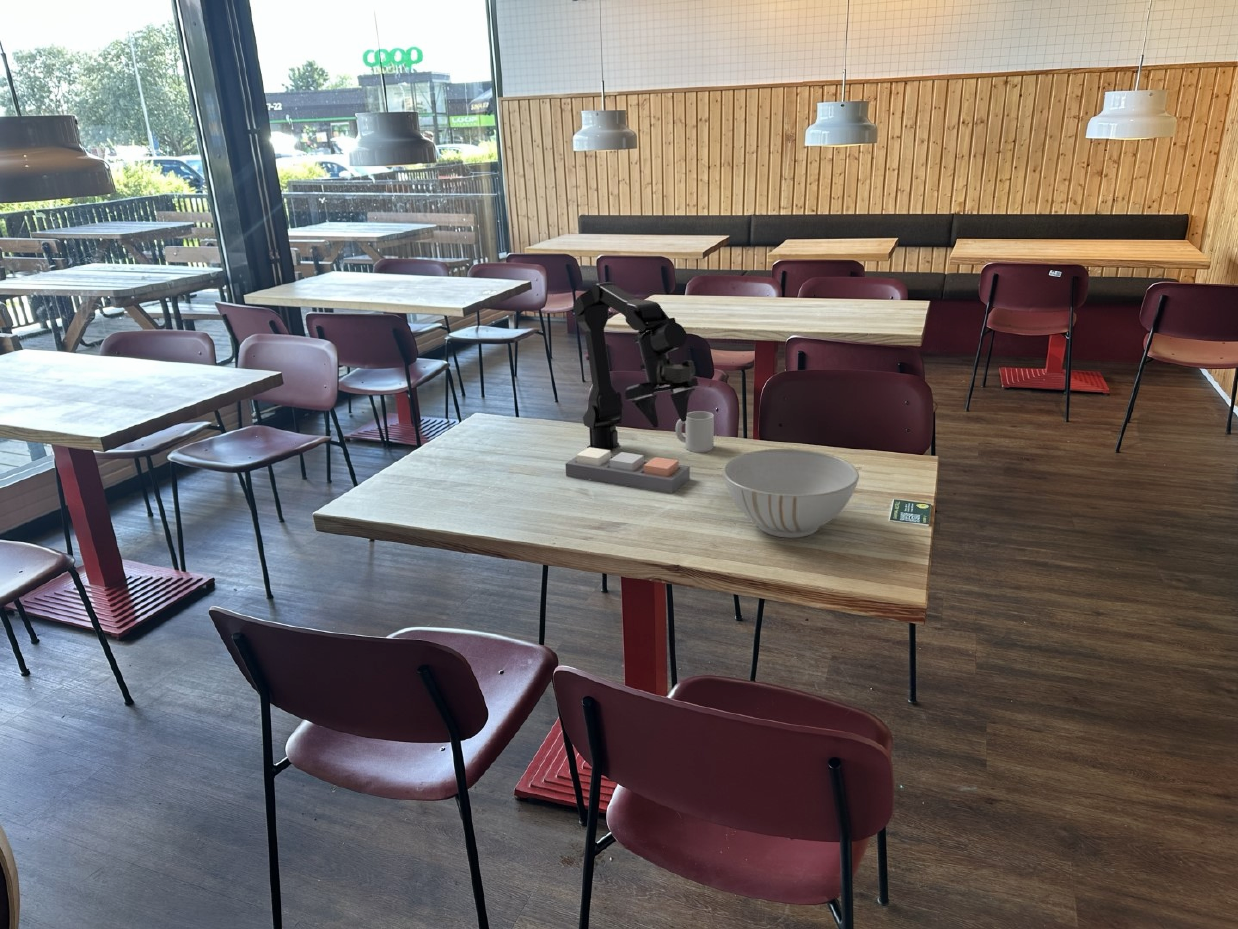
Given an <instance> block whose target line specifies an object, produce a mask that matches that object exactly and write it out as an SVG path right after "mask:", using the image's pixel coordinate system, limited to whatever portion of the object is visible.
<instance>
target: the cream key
mask: <svg viewBox="0 0 1238 929" xmlns="http://www.w3.org/2000/svg"><path fill="white" fill-rule="evenodd" d="M611 451H612V450H604V449H597V448H591V447H589V448H587V447H586V448H585V449H584V450H582V451H580V452H579V453H577V454H576V457H577V463H582V464H588V465H594V466H602V465H603V464H605V463H606V462H608V461H609V460H610V459H611V454H612V453H611Z"/></svg>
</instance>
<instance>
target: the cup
mask: <svg viewBox="0 0 1238 929" xmlns="http://www.w3.org/2000/svg"><path fill="white" fill-rule="evenodd" d="M714 416H715V415H714V413H712V412H710V411H700V410H697V411H690V412H687V417H686V421H684V422H682V421H681V419H680V418H679V419H678V420H677V422H676V424H675V435H676V437H677V440H679V441H680V442H681V443H684V444H685V449H686V450H687V449H688V450H689V452H691V451H693V452H692V453H698V452H701V453H707V452H710V451H712V450H713V448H714V440H715V439H714V438H715V437H714V433H715V432H714V431H715V430H714V427H715V425H714V422H715V421H714V418H715V417H714ZM683 425H685V427H684V429H685V434H684V435H683V432H682V429H683V428H682V427H683ZM688 450H687V451H688Z"/></svg>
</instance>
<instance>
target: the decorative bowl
mask: <svg viewBox="0 0 1238 929" xmlns="http://www.w3.org/2000/svg"><path fill="white" fill-rule="evenodd" d="M722 476H723V480H724V483H725V484H724V485H725V486H726V489H727V491H728V493H729V495H730V498H731V499H732V501H733V502H734V504H735V505H736V507H737V508H738V509H739V510H740V511H741V513H742V514H743V515H745V517H747V518H748V519H750V521H752V522H753V523H755V524H757V527H758V528H759V529H760V530H761V531H762V532H764V533H765V534H768V535H771V536H774V537H778V538H779V537H780V538H788V539H789V538H790V539H794V538H795V539H796V538H802V537H807V536H810V535H813V534H814V533H815V532H817V531H818V530H819V528H820V527H823V526H824V525H825V524H827V523H829V522H830V521H832V520H833V519H834V518H836V517H837V516H838V515H839V514H840V513H841V512H842V510H843V509H844V508H845V507H846V506H847V504H848V503H849V502H850V500H851V498H852V496H853V495H854V492H855V490H856V488H857V486H858V483H859V479H860V473H859V471H858V469H857V468H856V466H855V465H853V464H852V463H850V462H849V461H848V460H846V459H843V458H842V457H839V456H835V455H834V454H829V453H825V452H820V451H815V450H810V449H800V448H772V449H770V448H769V449H761V450H755V451H749V452H746V453H743V454H740V455H737V456H734V457H732V458H731V459H730V460H728V461H727V462H726V463H725V464H724V465H723V467H722Z"/></svg>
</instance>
